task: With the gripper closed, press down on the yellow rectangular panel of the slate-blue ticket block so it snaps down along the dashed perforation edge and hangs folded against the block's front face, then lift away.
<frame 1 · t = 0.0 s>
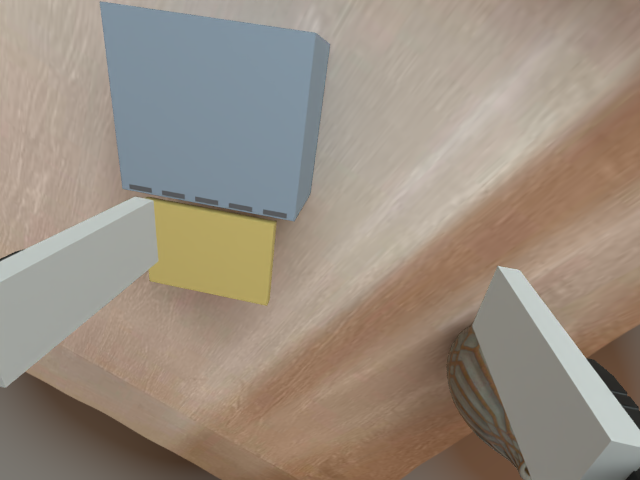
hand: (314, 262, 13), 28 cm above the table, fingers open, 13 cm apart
vase: (488, 339, 47), on the table
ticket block: (241, 112, 39), on the table
yellow rectangular panel: (209, 252, 37), point 8 cm above the table, hinge at 0.0°
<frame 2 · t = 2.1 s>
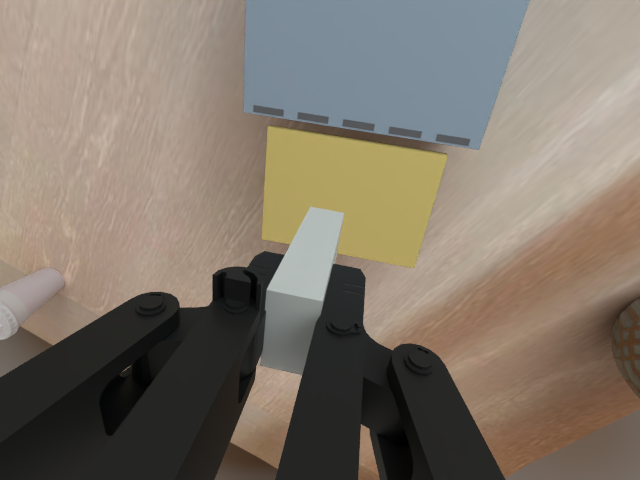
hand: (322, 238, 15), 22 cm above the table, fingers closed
smoothie: (54, 277, 51), on the table
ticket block: (379, 21, 30), on the table
yellow rectangular panel: (345, 199, 29), point 8 cm above the table, hinge at 0.0°
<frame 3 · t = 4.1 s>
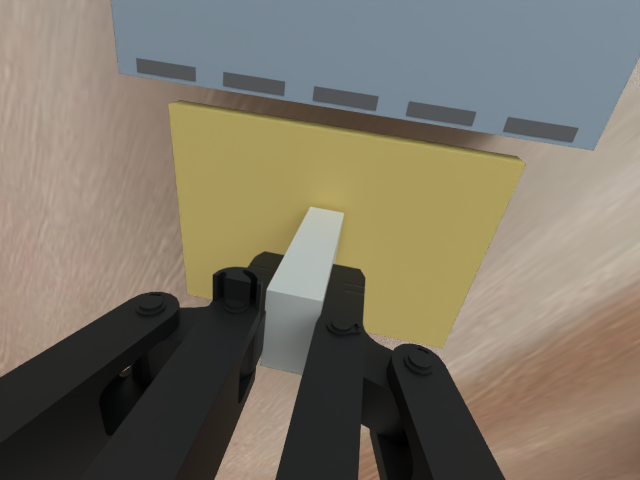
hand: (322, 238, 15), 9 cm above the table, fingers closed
yellow rectangular panel: (324, 237, 16), point 8 cm above the table, hinge at 5.0°, touching gripper
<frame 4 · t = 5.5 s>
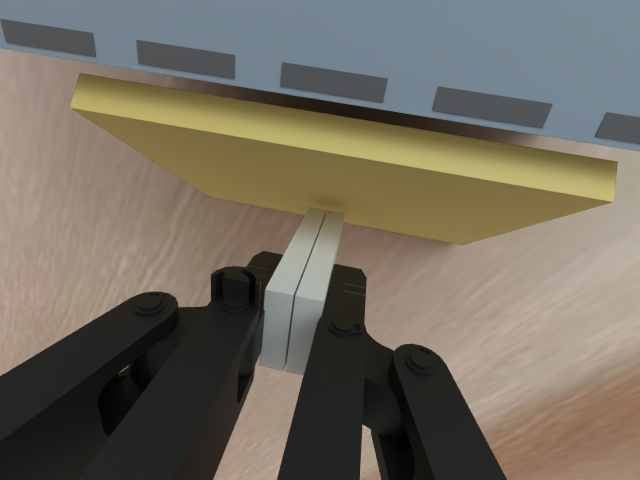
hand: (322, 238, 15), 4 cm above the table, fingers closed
yellow rectangular panel: (332, 186, 14), point 4 cm above the table, hinge at 56.4°, touching gripper
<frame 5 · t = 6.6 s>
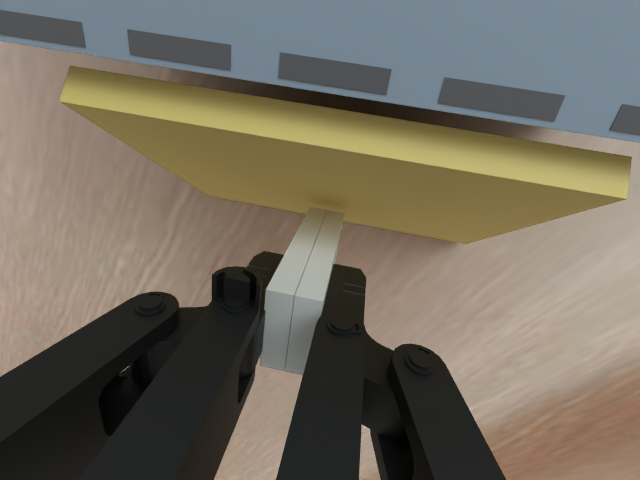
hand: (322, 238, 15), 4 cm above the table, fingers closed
yellow rectangular panel: (332, 184, 13), point 4 cm above the table, hinge at 56.5°, touching gripper
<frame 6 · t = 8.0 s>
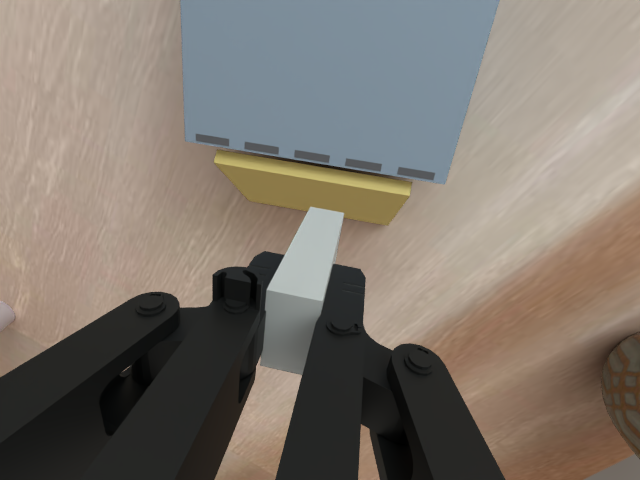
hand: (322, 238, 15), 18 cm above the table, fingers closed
smoothie: (3, 310, 47), on the table
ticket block: (341, 43, 28), on the table
yellow rectangular panel: (315, 193, 29), point 4 cm above the table, hinge at 56.5°
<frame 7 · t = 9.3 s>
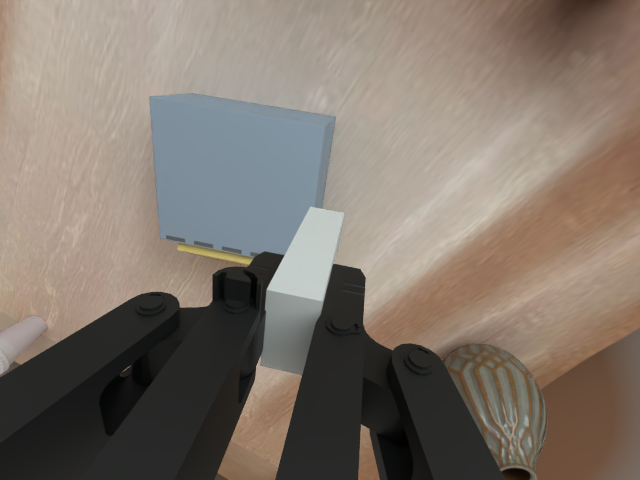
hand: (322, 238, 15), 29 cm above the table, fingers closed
vase: (473, 360, 53), on the table
smoothie: (38, 322, 65), on the table
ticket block: (259, 169, 45), on the table
yellow rectangular panel: (244, 260, 46), point 4 cm above the table, hinge at 56.5°
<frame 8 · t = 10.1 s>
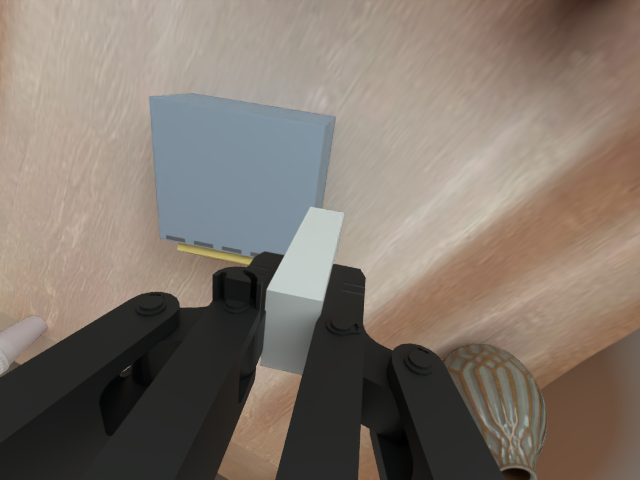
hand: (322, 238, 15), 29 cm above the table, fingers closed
vase: (473, 360, 53), on the table
smoothie: (38, 322, 65), on the table
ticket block: (259, 169, 45), on the table
yellow rectangular panel: (244, 260, 46), point 4 cm above the table, hinge at 56.5°
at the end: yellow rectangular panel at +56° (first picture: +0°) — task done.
